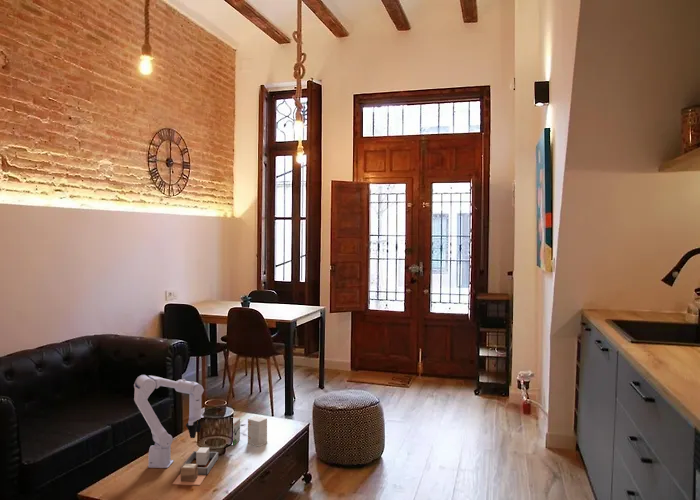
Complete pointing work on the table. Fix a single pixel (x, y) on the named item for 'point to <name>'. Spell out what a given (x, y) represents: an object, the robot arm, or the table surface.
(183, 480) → the walnut box
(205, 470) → the bin
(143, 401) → the robot arm
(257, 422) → the small box
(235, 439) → the ink box
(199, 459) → the white box
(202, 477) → the tile
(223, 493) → the table surface
